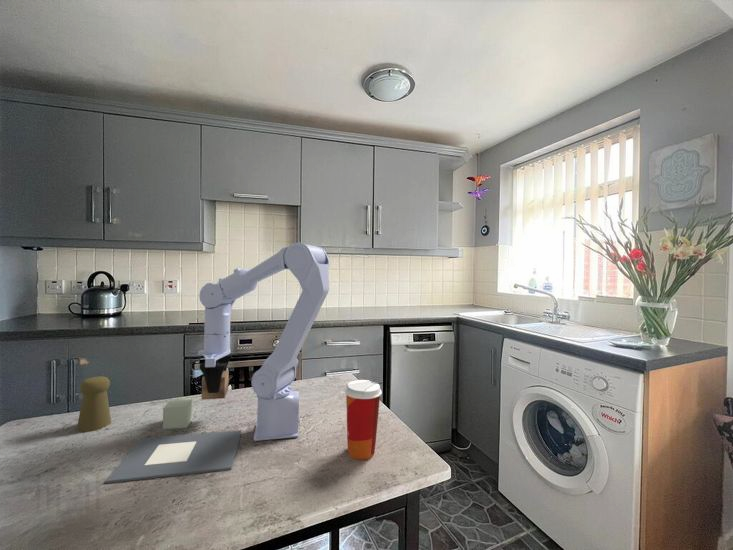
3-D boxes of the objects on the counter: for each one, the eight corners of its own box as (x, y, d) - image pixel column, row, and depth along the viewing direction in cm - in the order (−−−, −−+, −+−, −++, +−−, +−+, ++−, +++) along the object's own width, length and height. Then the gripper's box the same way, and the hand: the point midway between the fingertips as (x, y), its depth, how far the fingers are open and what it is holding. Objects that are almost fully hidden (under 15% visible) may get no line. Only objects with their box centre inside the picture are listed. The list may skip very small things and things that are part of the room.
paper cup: (361, 438, 72) (363, 376, 71) (387, 453, 66) (389, 386, 66) (334, 451, 66) (336, 384, 66) (359, 468, 61) (362, 395, 60)
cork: (91, 433, 70) (92, 383, 70) (69, 430, 71) (70, 380, 71) (117, 421, 76) (118, 375, 75) (97, 417, 77) (98, 372, 77)
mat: (241, 431, 73) (241, 429, 73) (231, 469, 59) (231, 466, 59) (141, 440, 68) (141, 438, 68) (105, 483, 54) (105, 480, 54)
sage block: (193, 417, 79) (193, 397, 79) (186, 427, 74) (187, 406, 74) (170, 419, 78) (170, 399, 78) (162, 429, 73) (163, 407, 73)
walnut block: (228, 390, 81) (228, 370, 81) (224, 398, 76) (224, 377, 76) (206, 391, 79) (207, 371, 79) (201, 399, 75) (201, 378, 74)
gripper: (206, 327, 83) (205, 378, 84) (190, 339, 69) (189, 401, 70) (235, 327, 85) (234, 377, 85) (225, 338, 71) (223, 398, 71)
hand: (216, 388), depth 78 cm, fingers closed on walnut block, 5 cm apart
